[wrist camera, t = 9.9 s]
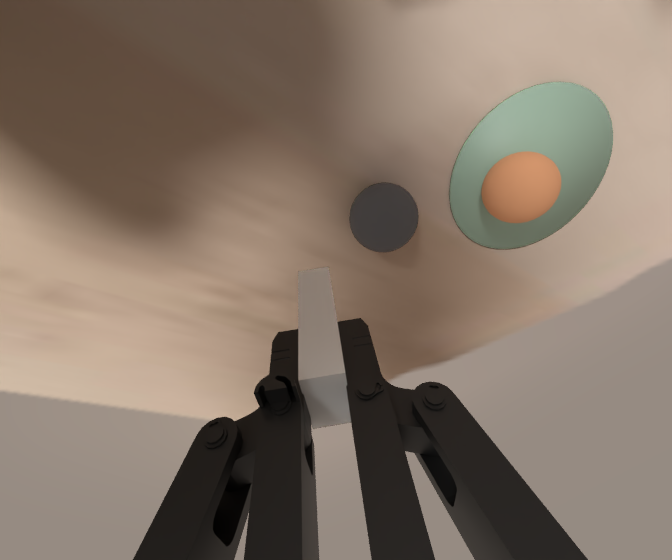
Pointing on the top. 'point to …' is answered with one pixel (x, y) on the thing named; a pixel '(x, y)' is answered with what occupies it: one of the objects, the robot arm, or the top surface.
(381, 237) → the dark grey ball
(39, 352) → the top surface
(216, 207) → the top surface
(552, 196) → the object ball
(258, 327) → the top surface
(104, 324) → the top surface
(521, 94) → the green plate
